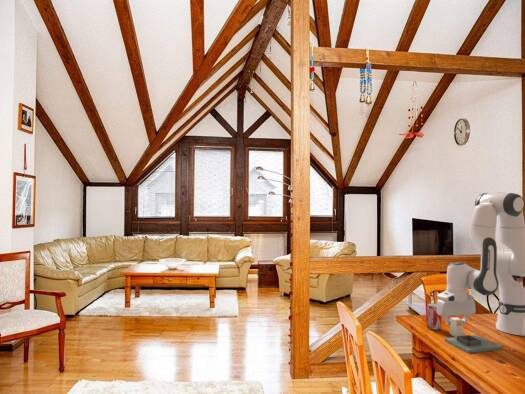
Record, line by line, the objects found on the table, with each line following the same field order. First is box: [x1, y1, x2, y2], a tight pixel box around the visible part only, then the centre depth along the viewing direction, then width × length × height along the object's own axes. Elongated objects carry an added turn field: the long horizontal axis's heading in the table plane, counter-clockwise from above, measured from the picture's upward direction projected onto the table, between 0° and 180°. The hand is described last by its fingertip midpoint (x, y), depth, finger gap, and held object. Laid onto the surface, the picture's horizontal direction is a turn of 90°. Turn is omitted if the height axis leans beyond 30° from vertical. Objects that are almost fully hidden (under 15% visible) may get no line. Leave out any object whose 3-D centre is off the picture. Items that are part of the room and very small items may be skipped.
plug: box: [449, 316, 464, 337], centre depth 179 cm, size 4×4×8 cm
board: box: [444, 334, 503, 354], centre depth 167 cm, size 18×14×3 cm
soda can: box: [425, 302, 442, 331], centre depth 189 cm, size 7×7×12 cm
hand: (456, 324), depth 178 cm, fingers open, 8 cm apart
